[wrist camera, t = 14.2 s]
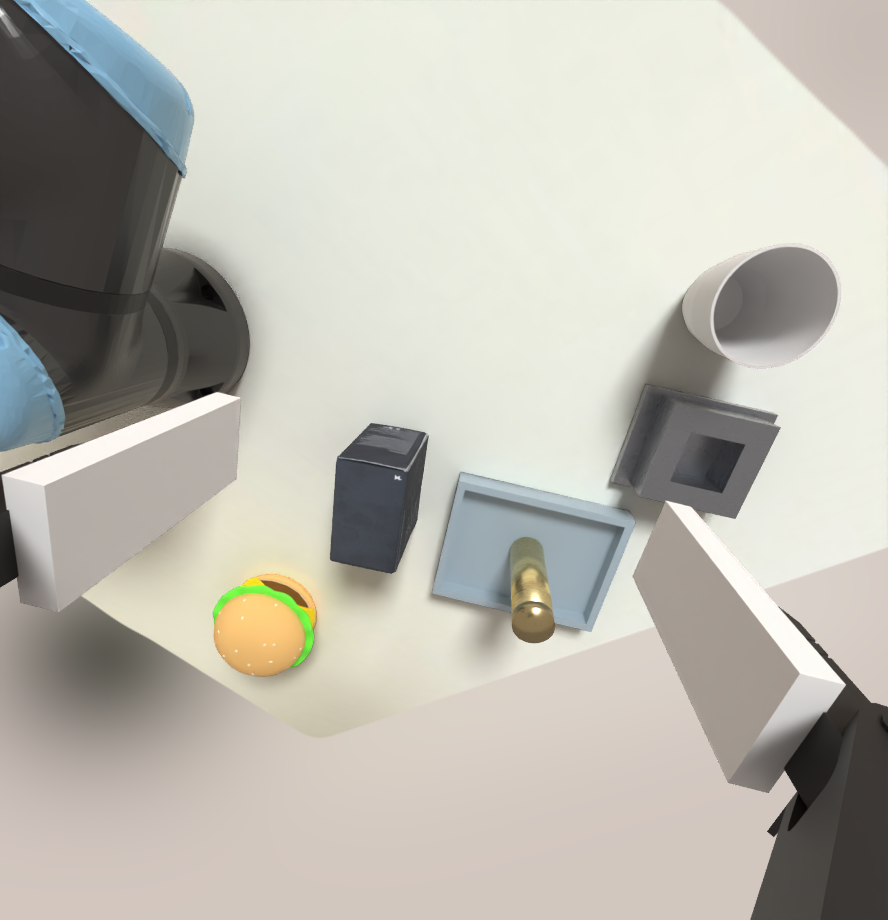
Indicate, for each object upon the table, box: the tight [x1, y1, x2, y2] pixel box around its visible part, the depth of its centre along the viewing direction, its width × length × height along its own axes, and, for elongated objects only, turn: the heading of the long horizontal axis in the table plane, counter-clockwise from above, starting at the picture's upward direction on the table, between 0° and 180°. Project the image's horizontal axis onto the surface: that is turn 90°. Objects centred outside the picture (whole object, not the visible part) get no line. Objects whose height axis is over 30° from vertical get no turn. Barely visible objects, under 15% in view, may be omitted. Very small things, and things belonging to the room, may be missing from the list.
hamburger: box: [213, 574, 317, 677], centre depth 54 cm, size 12×12×9 cm
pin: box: [510, 537, 555, 643], centre depth 45 cm, size 4×4×12 cm
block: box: [611, 384, 781, 519], centre depth 44 cm, size 12×10×4 cm
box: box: [330, 423, 429, 574], centre depth 45 cm, size 11×7×10 cm, turn 172°
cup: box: [682, 243, 841, 369], centre depth 37 cm, size 8×8×10 cm
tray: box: [432, 472, 636, 632], centre depth 50 cm, size 18×14×2 cm
